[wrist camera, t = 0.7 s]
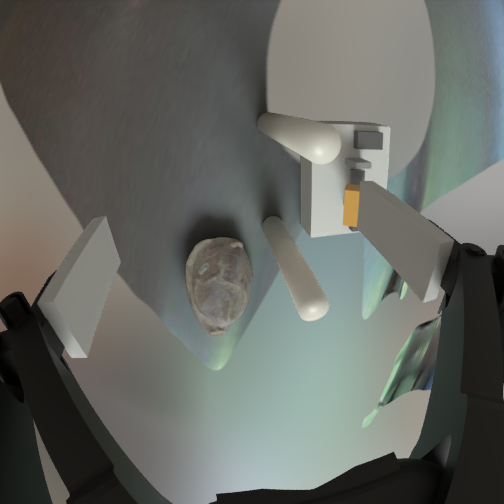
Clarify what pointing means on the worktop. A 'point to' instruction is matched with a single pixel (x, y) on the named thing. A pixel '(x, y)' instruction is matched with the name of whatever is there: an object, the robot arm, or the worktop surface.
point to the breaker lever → (352, 197)
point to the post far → (295, 271)
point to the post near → (302, 136)
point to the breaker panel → (342, 176)
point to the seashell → (218, 282)
